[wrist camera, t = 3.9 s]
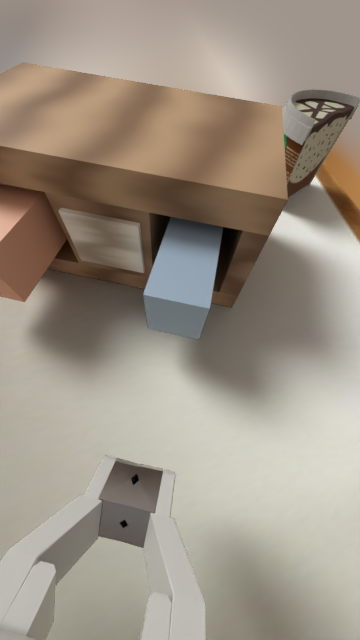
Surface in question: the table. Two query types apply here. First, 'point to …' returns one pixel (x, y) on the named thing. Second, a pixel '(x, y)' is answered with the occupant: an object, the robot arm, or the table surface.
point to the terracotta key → (26, 240)
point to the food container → (312, 132)
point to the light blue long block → (183, 278)
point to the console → (142, 169)
